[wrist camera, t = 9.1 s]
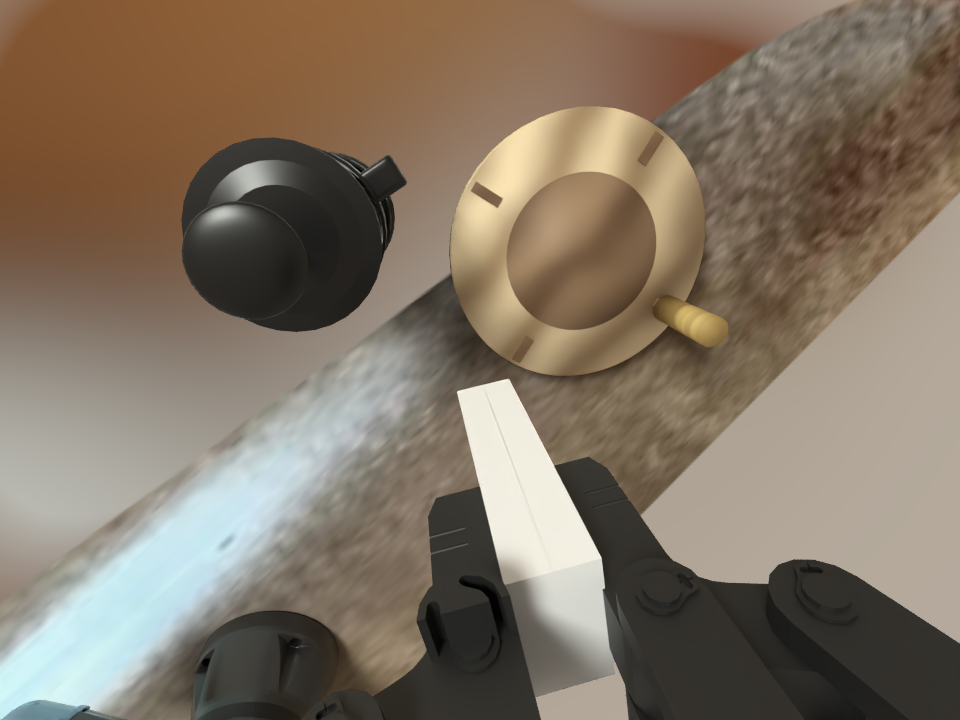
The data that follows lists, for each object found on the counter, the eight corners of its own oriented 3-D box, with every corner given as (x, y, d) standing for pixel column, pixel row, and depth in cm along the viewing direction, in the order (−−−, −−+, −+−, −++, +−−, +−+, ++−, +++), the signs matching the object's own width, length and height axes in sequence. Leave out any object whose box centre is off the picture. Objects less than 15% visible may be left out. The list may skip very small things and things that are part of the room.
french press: (320, 297, 39) (220, 438, 18) (242, 200, 35) (0, 232, 14) (433, 222, 38) (467, 277, 17) (365, 114, 35) (300, 14, 13)
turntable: (403, 301, 39) (402, 334, 31) (540, 46, 33) (583, 3, 25) (599, 402, 46) (641, 451, 38) (739, 204, 40) (825, 210, 32)
